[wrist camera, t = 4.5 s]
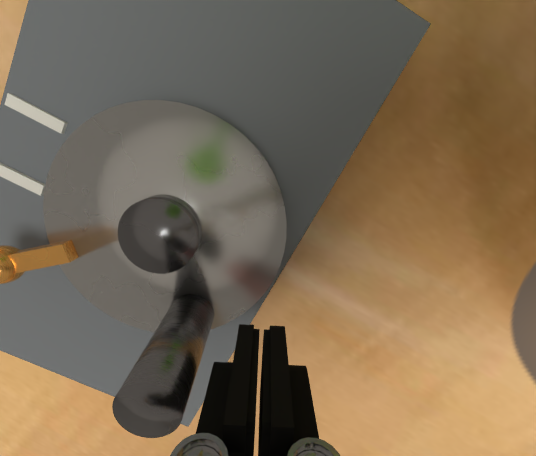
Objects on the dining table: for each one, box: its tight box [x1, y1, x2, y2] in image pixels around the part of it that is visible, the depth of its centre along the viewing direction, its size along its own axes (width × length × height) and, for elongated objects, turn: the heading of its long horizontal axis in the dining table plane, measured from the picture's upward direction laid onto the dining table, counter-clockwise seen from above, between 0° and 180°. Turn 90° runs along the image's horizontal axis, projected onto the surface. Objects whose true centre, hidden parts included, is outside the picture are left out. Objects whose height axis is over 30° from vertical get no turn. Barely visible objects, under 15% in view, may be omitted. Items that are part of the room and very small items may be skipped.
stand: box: [0, 0, 430, 426], centre depth 14 cm, size 23×14×2 cm, turn 152°
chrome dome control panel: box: [0, 100, 287, 438], centre depth 10 cm, size 10×13×6 cm
